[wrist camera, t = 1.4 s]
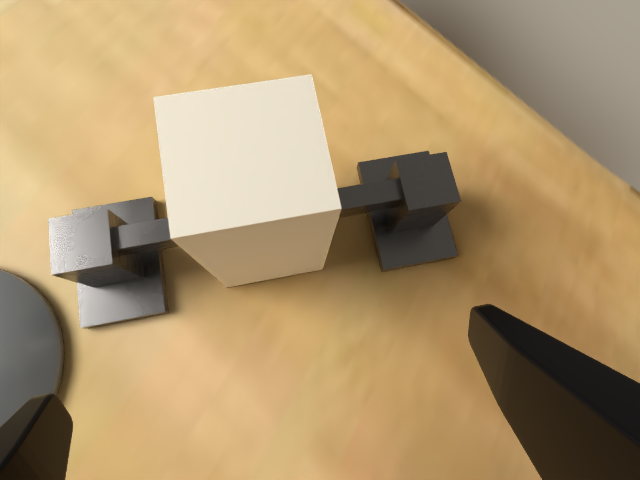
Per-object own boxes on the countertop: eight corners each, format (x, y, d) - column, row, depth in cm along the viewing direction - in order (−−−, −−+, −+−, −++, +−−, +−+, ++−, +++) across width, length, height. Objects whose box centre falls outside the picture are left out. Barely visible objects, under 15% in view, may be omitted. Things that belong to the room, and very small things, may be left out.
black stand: (454, 257, 23) (489, 236, 19) (86, 328, 21) (32, 323, 17) (425, 155, 24) (452, 114, 20) (78, 213, 22) (26, 181, 18)
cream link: (322, 269, 22) (341, 208, 13) (226, 287, 22) (170, 238, 12) (306, 188, 23) (311, 74, 14) (214, 203, 23) (153, 97, 13)
